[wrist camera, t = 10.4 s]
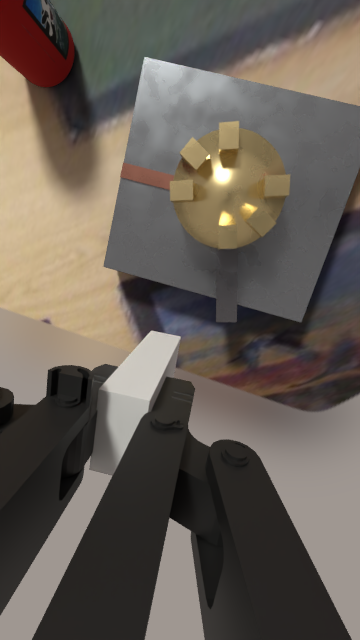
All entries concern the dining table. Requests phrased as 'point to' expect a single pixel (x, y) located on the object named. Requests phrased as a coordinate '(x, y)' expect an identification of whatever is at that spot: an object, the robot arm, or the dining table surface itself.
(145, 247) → the housing
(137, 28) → the dining table surface
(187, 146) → the studded gold disc
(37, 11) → the beverage can
